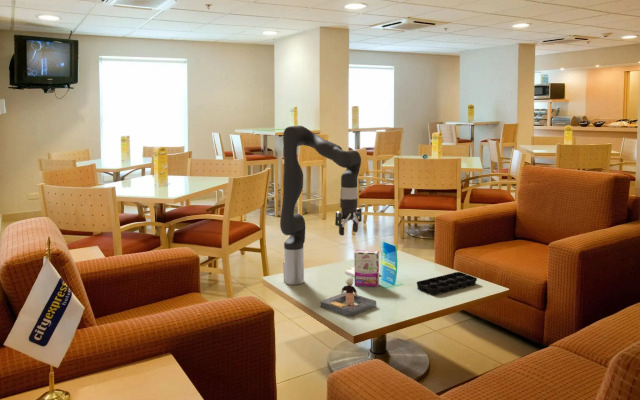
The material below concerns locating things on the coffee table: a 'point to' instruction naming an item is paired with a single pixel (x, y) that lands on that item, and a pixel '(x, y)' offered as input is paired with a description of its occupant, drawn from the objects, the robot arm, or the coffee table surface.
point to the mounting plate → (352, 272)
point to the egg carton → (446, 283)
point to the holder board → (337, 307)
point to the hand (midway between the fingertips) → (348, 233)
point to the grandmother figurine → (349, 292)
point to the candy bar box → (366, 268)
